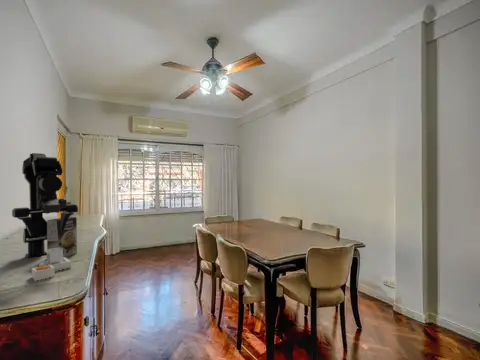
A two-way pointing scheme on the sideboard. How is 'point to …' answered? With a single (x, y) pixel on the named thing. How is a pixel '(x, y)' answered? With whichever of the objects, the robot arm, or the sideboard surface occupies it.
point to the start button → (42, 267)
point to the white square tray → (58, 264)
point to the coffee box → (62, 235)
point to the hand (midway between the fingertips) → (47, 233)
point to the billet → (54, 256)
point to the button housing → (43, 273)
